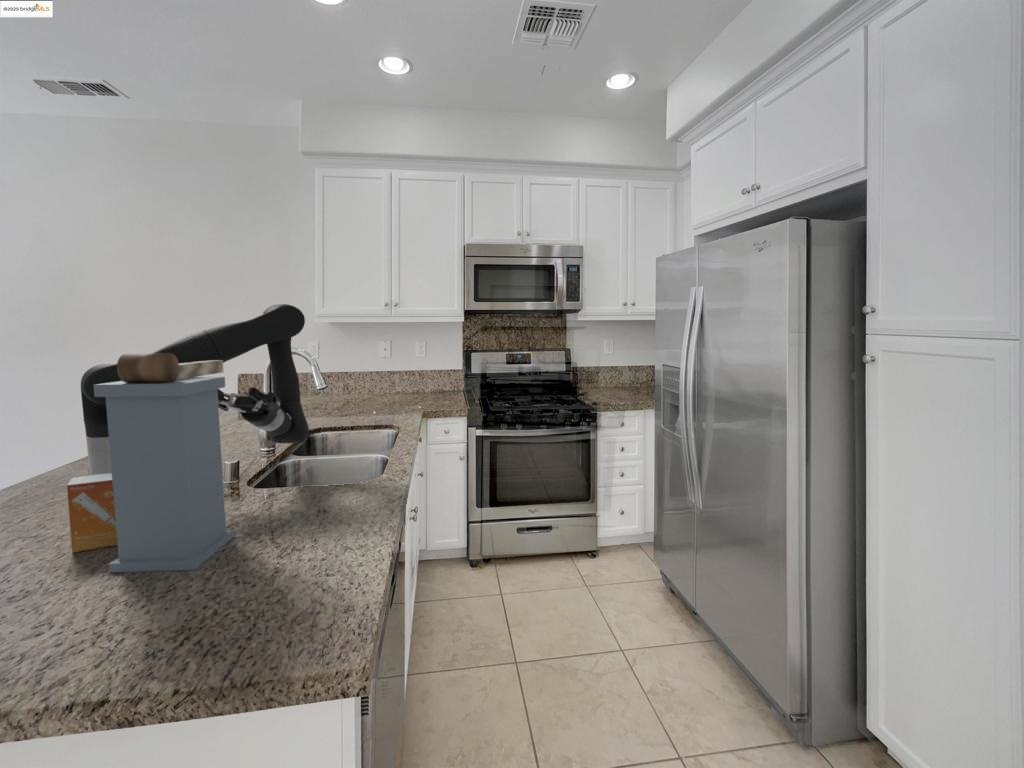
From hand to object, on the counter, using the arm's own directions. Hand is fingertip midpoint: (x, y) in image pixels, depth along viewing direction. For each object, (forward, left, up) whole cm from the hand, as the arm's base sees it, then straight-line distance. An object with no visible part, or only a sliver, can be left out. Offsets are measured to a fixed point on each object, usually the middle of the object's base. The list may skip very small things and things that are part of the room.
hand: (231, 391), depth 116 cm
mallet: (+8, -17, +5) cm, 20 cm away
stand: (+11, -23, -27) cm, 37 cm away
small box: (-7, -25, -27) cm, 38 cm away
